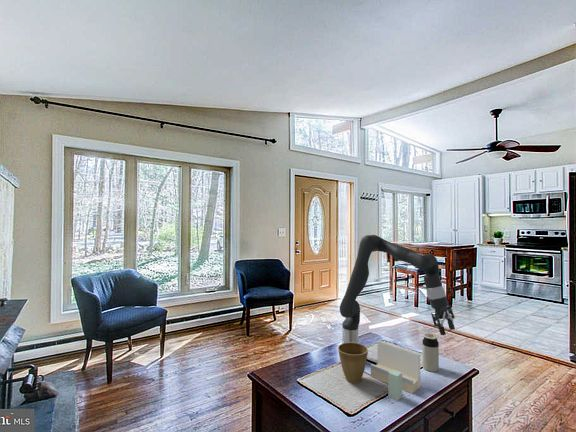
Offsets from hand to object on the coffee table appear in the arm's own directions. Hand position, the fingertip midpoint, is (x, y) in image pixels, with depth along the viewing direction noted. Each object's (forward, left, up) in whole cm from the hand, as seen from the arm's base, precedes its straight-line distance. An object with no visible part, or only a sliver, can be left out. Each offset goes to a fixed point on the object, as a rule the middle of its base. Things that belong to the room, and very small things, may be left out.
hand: (448, 332), depth 142 cm
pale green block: (-24, -1, -30) cm, 38 cm away
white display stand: (-21, +12, -30) cm, 39 cm away
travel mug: (+1, +27, -30) cm, 41 cm away
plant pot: (-42, +12, -30) cm, 53 cm away
